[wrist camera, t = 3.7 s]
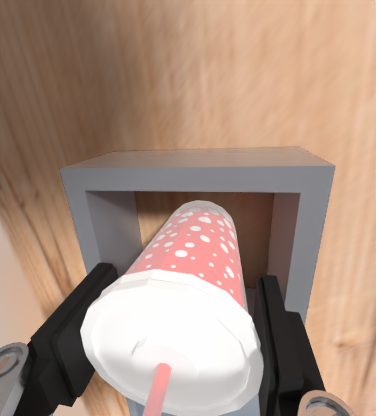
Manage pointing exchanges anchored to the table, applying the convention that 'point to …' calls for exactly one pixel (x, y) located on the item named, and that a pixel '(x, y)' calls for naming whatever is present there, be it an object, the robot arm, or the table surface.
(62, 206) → the table surface
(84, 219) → the holder
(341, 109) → the table surface
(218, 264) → the beverage cup
